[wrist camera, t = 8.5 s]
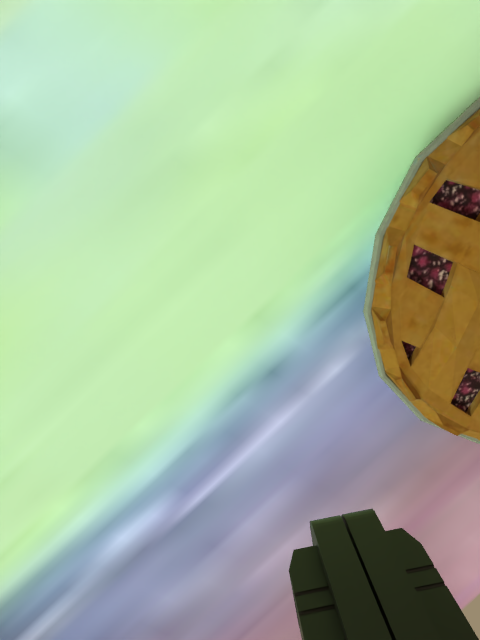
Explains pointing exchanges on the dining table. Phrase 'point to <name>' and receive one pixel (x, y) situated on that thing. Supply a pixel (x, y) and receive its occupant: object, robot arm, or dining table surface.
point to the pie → (432, 283)
